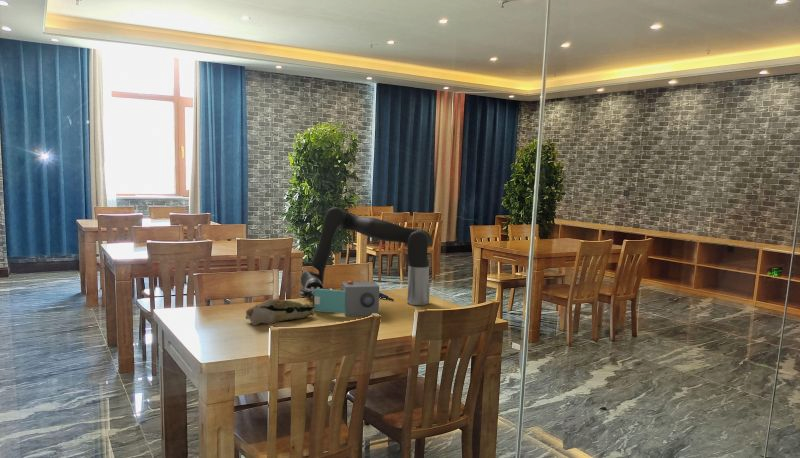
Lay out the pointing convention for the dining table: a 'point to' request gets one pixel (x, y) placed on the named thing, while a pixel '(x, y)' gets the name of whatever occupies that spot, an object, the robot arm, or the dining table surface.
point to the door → (329, 300)
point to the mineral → (278, 311)
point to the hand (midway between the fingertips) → (316, 297)
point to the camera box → (361, 298)
